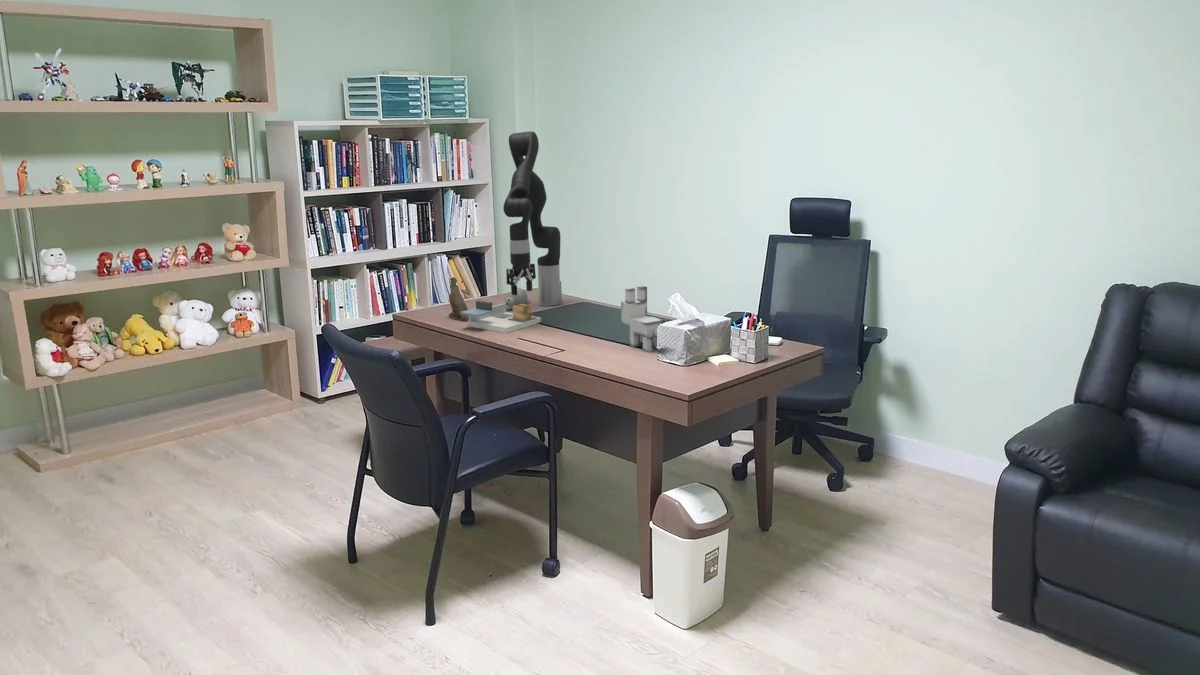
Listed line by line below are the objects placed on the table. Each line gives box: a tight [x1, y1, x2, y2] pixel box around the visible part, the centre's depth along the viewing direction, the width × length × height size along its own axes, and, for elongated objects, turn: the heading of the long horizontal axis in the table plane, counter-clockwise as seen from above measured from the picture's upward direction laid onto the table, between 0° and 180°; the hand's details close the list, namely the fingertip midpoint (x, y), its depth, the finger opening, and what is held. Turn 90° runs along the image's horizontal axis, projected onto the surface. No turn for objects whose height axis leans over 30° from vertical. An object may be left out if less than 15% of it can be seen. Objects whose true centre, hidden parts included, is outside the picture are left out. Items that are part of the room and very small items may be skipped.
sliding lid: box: [461, 300, 494, 317], centre depth 333 cm, size 9×9×4 cm
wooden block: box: [512, 303, 532, 320], centre depth 338 cm, size 5×5×5 cm
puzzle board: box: [467, 302, 542, 334], centre depth 339 cm, size 20×20×6 cm
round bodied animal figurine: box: [504, 287, 532, 312], centre depth 366 cm, size 7×12×8 cm, turn 127°
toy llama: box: [620, 285, 666, 353], centre depth 302 cm, size 8×18×20 cm, turn 34°
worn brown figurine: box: [448, 277, 469, 322], centre depth 350 cm, size 12×6×18 cm, turn 38°
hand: (522, 292), depth 337 cm, fingers open, 8 cm apart
